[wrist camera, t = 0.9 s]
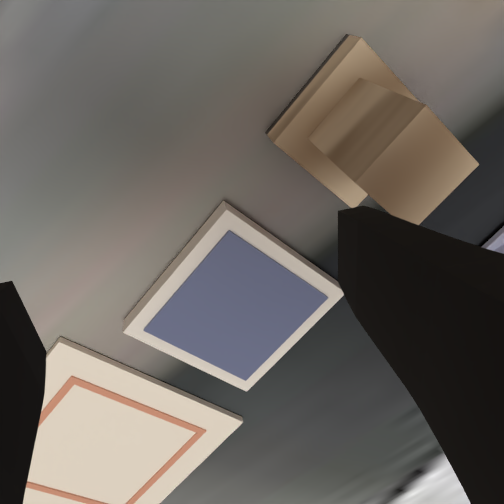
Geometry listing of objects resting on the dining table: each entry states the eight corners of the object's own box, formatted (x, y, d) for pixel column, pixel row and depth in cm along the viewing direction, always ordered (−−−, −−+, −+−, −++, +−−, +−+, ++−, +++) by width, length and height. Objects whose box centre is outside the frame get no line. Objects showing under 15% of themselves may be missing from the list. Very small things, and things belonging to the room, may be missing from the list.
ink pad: (338, 282, 24) (347, 294, 23) (243, 378, 26) (247, 393, 25) (223, 200, 21) (227, 210, 20) (123, 319, 23) (122, 334, 22)
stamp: (417, 113, 20) (518, 158, 15) (340, 196, 22) (406, 267, 16) (345, 34, 18) (432, 53, 13) (264, 132, 20) (311, 188, 14)
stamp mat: (242, 416, 28) (243, 423, 28) (130, 525, 31) (130, 532, 31) (60, 336, 23) (58, 343, 22) (-52, 477, 26) (-55, 486, 25)
